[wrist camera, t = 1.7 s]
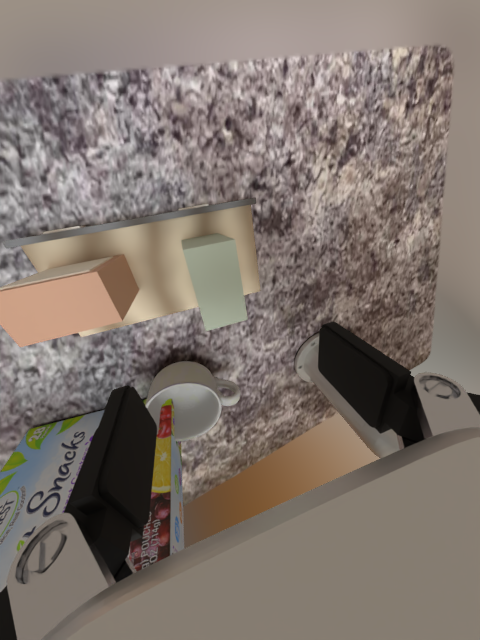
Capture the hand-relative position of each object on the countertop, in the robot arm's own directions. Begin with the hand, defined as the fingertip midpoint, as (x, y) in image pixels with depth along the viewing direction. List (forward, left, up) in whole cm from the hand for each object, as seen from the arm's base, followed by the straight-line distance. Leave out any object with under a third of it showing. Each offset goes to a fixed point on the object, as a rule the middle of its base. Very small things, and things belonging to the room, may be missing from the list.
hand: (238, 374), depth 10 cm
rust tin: (+12, -2, -20) cm, 23 cm away
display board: (+4, -2, -21) cm, 21 cm away
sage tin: (-1, -1, -20) cm, 20 cm away
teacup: (+6, +17, -21) cm, 28 cm away
